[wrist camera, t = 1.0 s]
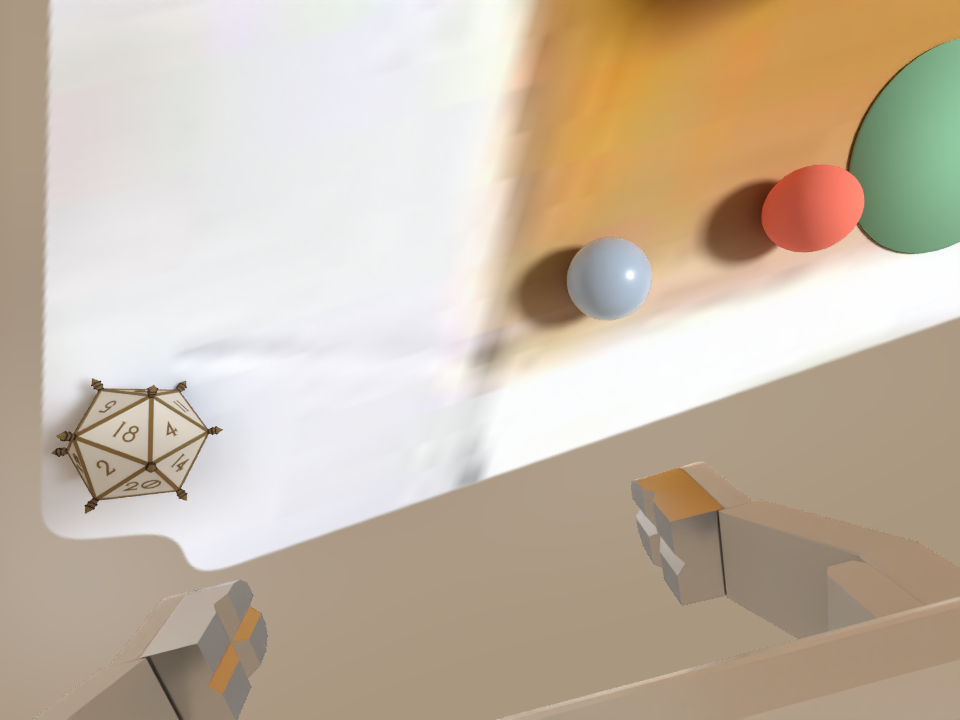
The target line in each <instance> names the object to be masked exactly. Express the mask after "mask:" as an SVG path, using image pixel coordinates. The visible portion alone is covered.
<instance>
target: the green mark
mask: <svg viewBox="0 0 960 720" xmlns="http://www.w3.org/2000/svg"><path fill="white" fill-rule="evenodd" d="M849 173H851V174H852V175H853V176H854V177H855V178H856V179H857V180H858V182H859V183H860V185H861V187H862V189H863V193H864V208H863V212H862V215H861V217H860V219H859V221H858V222H859V224H860V225H861V227H862V228H863V230H864V231H865V232H866V233H867V234H868V235H869V236H870V237H871V238H872V239H873V240H874V241H876V242H877V243H879V244H880V245H882V246H884V247H886V248H888V249H891V250H895V251H898V252H906V253H926V252H932V251H937V250H940V249H943V248H947V247H949V246H951V245H954V244H956V243H958V242H960V38H959V39H956V40H952V41H949V42H946V43H943V44H941V45H939V46H937V47H934V48H932V49H930V50H928V51H927V52H925V53H924V54H922V55H920V56H919V57H917V58H916V59H914V60H913V61H912V62H911V63H909V64H908V65H907V66H905V67H904V68H903V69H902V70H901V71H900V72H899V73H898V74H897V75H896V76H895V77H894V78H893V79H892V80H891V81H890V82H889V83H888V84H887V86H886V87H885V88H884V89H883V90H882V92H881V93H880V94H879V96H878V97H877V99H876V100H875V101H874V103H873V104H872V106H871V108H870V110H869V111H868V113H867V115H866V117H865V118H864V121H863V123H862V125H861V127H860V130H859V132H858V134H857V137H856V140H855V143H854V146H853V151H852V155H851V160H850V167H849Z"/></svg>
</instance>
